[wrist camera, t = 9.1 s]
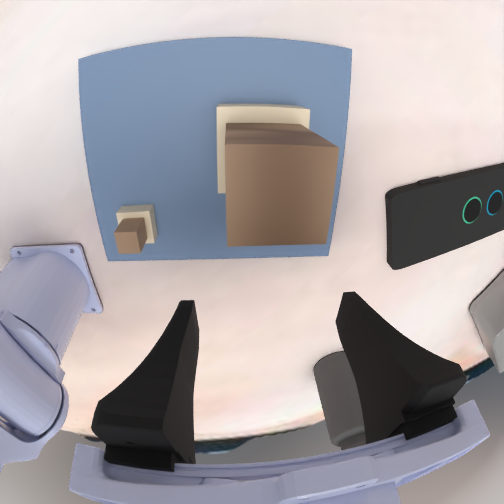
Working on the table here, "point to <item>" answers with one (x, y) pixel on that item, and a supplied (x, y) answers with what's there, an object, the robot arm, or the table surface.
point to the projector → (491, 320)
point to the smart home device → (443, 214)
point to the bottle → (340, 401)
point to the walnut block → (278, 184)
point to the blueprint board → (197, 135)
